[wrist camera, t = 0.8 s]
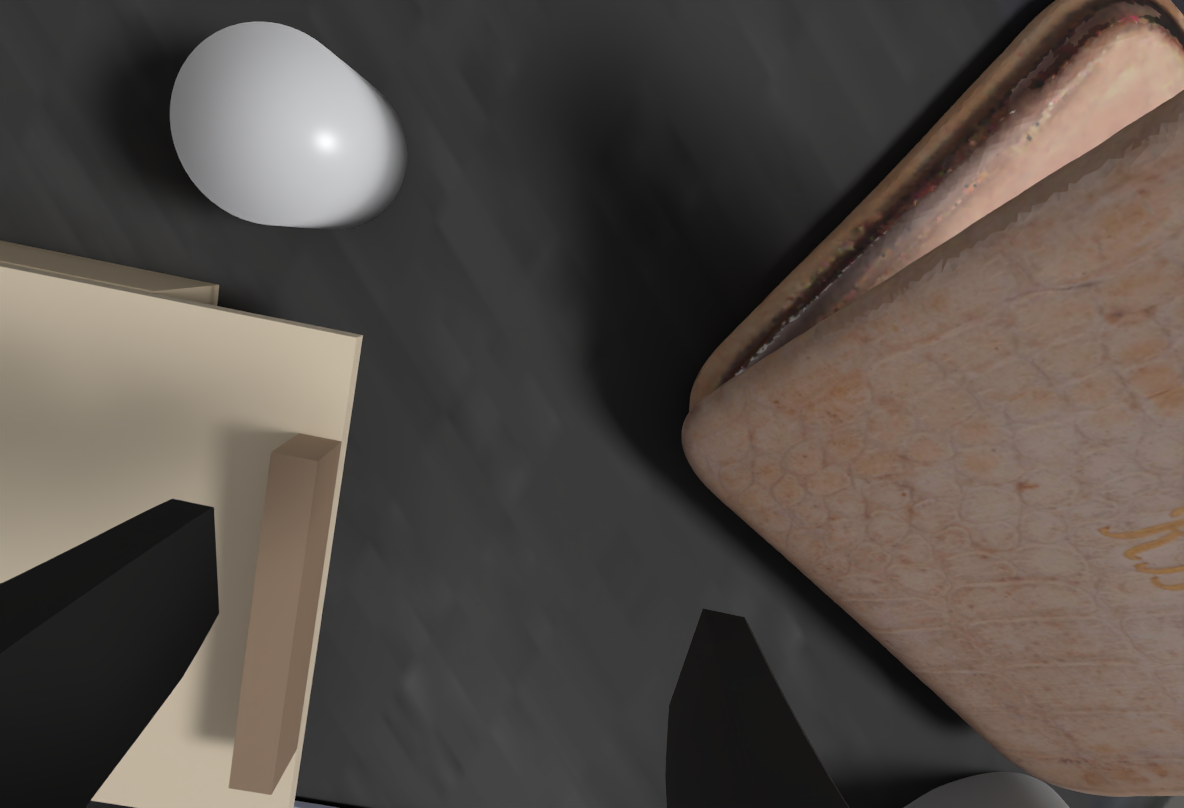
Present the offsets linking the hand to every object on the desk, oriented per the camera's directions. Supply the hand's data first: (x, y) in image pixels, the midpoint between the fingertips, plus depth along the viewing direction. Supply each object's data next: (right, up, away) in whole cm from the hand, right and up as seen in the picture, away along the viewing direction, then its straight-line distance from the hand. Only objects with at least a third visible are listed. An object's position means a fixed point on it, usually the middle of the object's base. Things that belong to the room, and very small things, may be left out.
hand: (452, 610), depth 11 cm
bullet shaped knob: (-6, +11, +13) cm, 19 cm away
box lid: (-13, -1, +11) cm, 17 cm away
